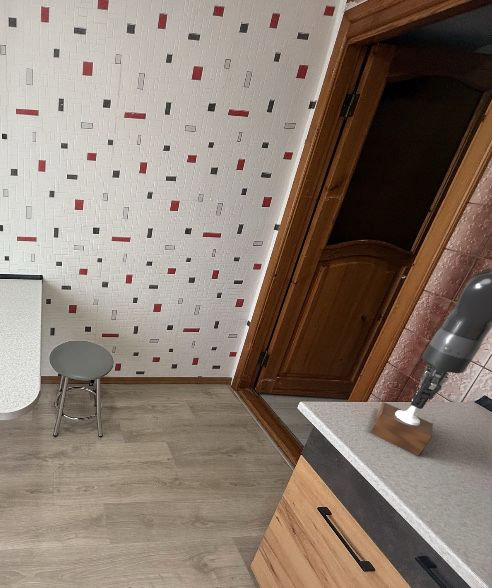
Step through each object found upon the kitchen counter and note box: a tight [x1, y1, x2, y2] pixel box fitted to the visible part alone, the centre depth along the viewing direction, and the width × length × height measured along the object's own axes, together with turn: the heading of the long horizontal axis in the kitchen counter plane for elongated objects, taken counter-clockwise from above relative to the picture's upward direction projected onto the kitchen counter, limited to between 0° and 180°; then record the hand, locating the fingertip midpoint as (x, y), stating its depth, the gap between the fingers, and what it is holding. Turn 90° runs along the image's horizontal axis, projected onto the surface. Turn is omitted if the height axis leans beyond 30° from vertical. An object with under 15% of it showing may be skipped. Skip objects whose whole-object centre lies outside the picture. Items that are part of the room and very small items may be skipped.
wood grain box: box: [369, 401, 434, 457], centre depth 93 cm, size 10×14×7 cm
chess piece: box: [395, 392, 420, 426], centre depth 87 cm, size 5×5×10 cm
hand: (416, 404), depth 87 cm, fingers closed on chess piece, 2 cm apart
